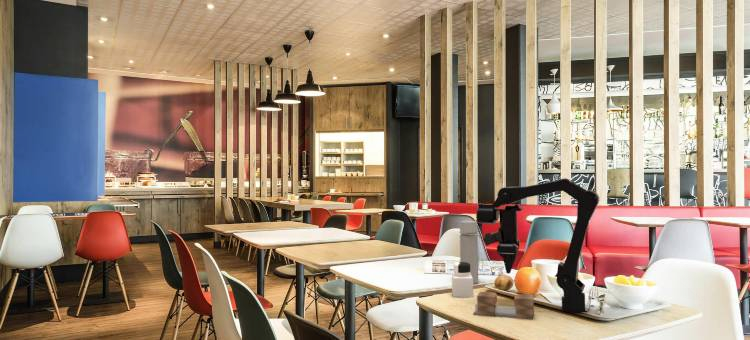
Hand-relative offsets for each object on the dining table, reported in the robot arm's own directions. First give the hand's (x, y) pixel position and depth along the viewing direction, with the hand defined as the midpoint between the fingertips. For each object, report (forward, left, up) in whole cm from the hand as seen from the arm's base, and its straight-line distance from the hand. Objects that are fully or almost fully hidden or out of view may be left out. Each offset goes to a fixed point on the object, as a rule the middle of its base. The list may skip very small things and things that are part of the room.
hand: (509, 270), depth 171 cm
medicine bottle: (+18, -11, -12) cm, 24 cm away
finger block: (+6, +14, -11) cm, 19 cm away
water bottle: (+18, -33, -12) cm, 40 cm away
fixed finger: (-6, +14, -11) cm, 19 cm away
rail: (+1, +14, -12) cm, 18 cm away
